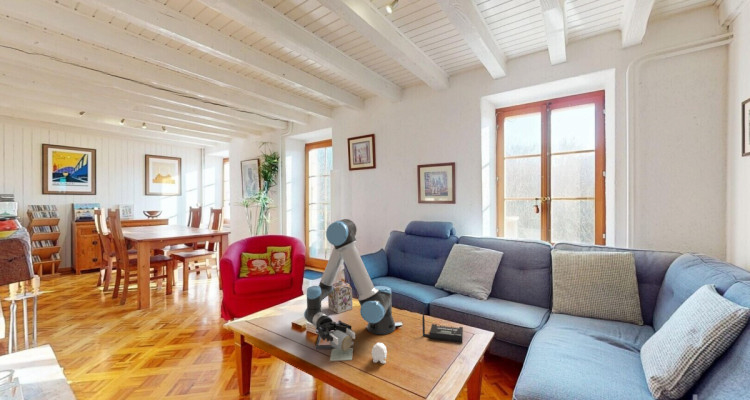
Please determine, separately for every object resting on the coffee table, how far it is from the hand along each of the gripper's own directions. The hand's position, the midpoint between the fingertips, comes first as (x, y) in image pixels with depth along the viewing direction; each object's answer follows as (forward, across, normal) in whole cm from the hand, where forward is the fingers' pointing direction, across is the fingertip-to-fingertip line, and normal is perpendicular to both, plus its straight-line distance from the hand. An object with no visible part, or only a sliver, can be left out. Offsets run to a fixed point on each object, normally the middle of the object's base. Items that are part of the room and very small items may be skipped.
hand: (346, 338), depth 143 cm
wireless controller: (+13, -51, -10) cm, 53 cm away
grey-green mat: (-5, 0, -9) cm, 10 cm away
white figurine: (+10, -12, -9) cm, 18 cm away
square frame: (-19, -3, -9) cm, 22 cm away
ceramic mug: (-5, -1, -7) cm, 9 cm away
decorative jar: (-54, -29, -10) cm, 62 cm away
